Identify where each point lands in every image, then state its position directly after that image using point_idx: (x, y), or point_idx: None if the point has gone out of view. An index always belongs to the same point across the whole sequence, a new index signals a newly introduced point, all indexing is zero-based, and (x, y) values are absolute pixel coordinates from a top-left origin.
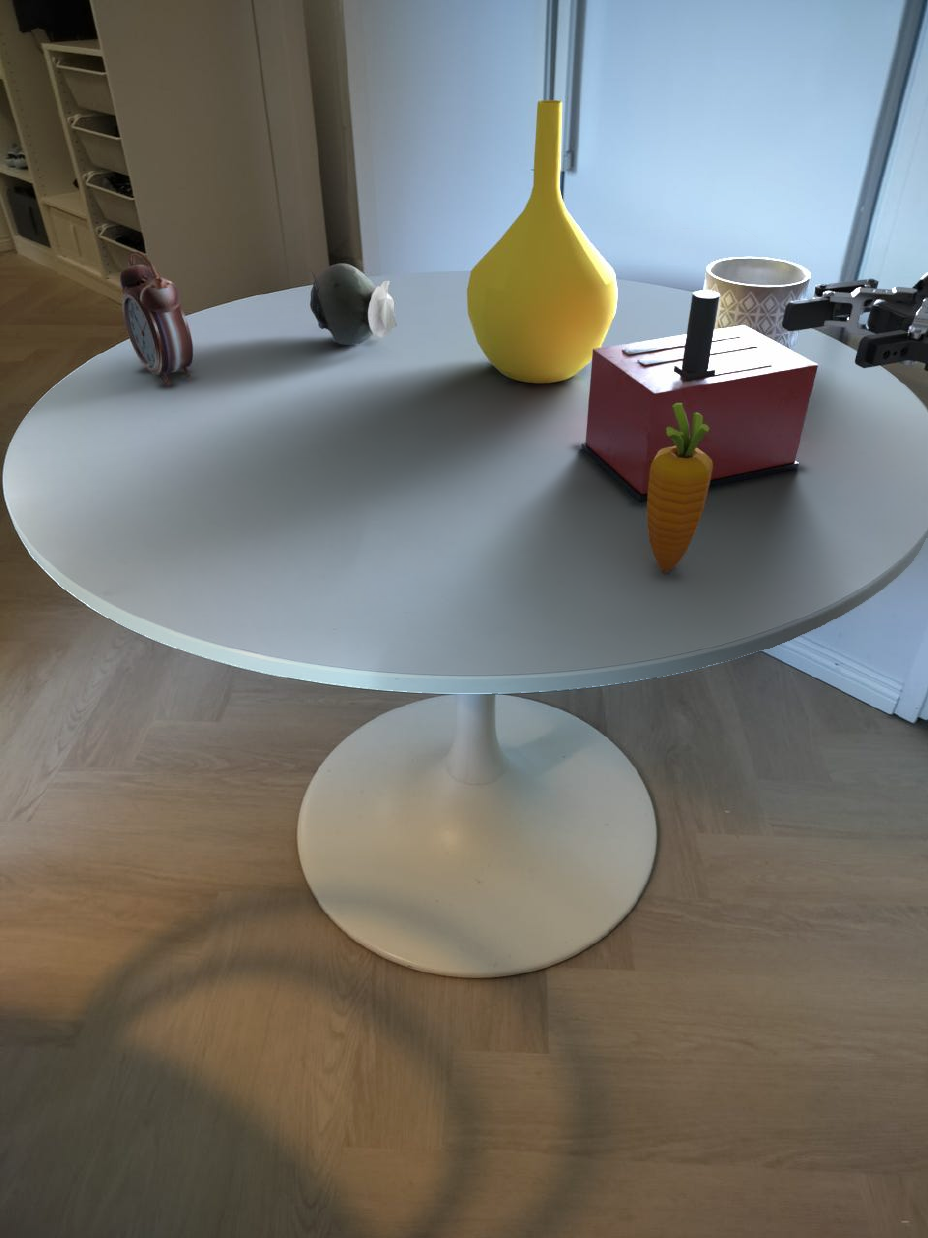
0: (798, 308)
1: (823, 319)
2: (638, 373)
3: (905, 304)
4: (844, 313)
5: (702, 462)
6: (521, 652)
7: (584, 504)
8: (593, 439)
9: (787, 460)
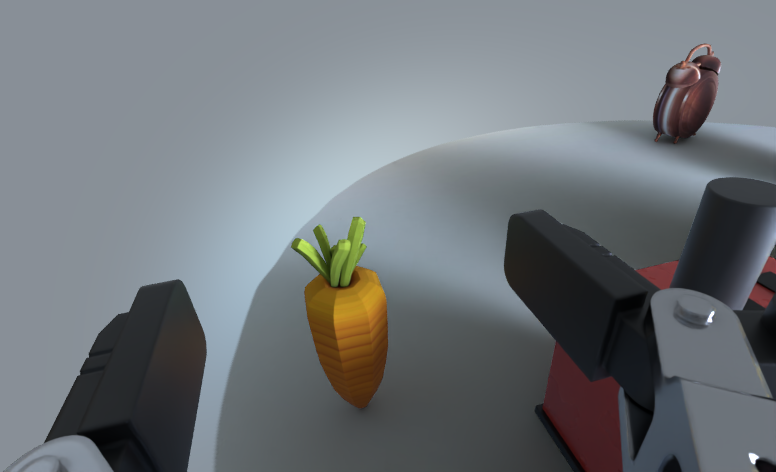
0: (522, 234)
1: (588, 354)
2: (655, 279)
3: None
4: None
5: (315, 295)
6: (280, 288)
7: (518, 351)
8: None
9: None
